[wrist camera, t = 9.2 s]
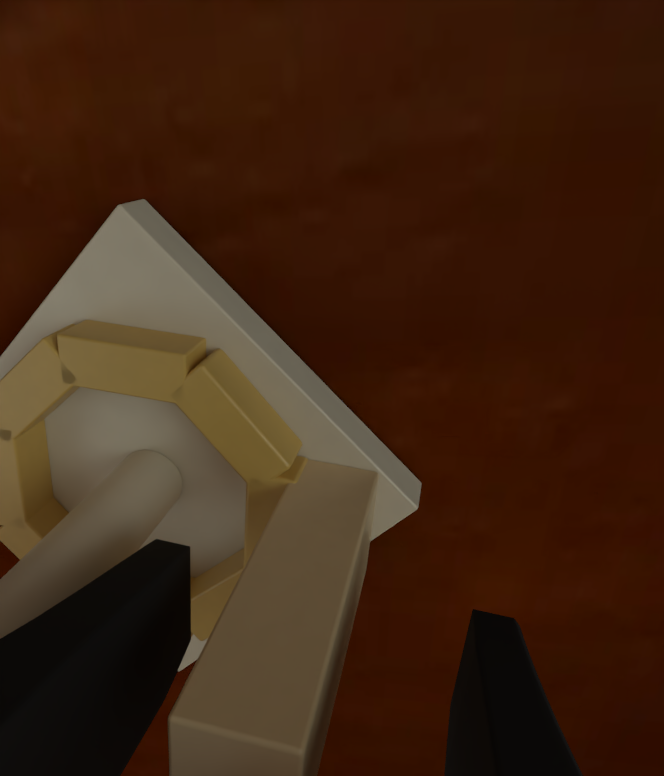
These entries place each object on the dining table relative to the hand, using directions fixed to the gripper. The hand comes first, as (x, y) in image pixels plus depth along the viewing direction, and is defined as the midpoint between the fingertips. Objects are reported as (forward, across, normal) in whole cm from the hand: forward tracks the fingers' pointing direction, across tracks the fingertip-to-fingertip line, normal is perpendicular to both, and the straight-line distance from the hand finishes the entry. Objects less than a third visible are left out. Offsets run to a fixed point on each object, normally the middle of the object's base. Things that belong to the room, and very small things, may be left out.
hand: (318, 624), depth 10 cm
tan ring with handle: (+3, +4, 0) cm, 5 cm away
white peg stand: (+4, +4, 0) cm, 6 cm away
